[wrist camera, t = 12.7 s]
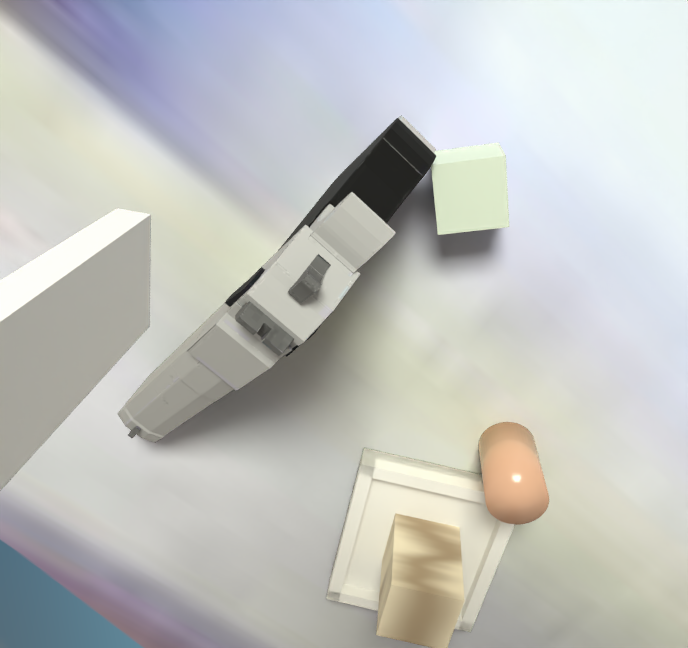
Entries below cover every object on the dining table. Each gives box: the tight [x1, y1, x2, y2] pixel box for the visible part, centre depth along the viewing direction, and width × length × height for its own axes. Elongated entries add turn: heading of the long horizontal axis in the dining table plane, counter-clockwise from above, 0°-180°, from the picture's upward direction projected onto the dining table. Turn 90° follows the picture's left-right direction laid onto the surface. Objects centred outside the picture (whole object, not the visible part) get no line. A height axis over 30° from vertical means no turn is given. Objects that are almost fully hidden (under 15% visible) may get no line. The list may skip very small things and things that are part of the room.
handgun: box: [118, 115, 436, 443], centre depth 41 cm, size 4×28×15 cm, turn 138°
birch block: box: [376, 513, 465, 648], centre depth 48 cm, size 5×5×7 cm
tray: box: [327, 448, 515, 632], centre depth 51 cm, size 12×14×2 cm
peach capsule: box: [479, 422, 549, 524], centre depth 45 cm, size 4×4×6 cm
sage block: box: [431, 143, 509, 235], centre depth 38 cm, size 4×4×4 cm
